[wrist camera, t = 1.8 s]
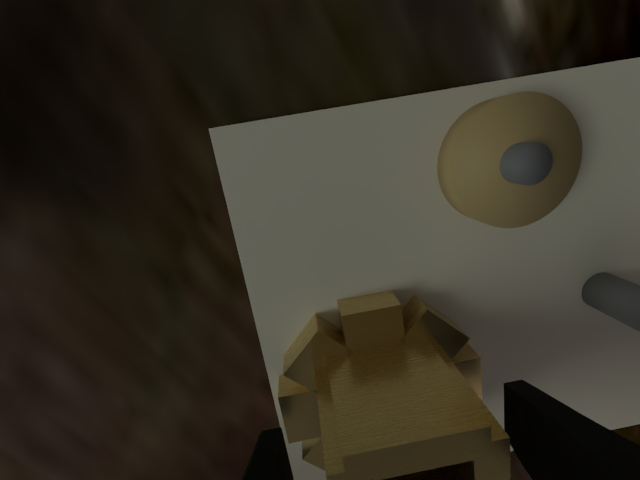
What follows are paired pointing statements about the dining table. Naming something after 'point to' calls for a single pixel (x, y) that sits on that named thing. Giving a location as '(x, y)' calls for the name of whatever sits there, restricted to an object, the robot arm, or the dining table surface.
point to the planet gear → (390, 396)
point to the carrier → (458, 227)
